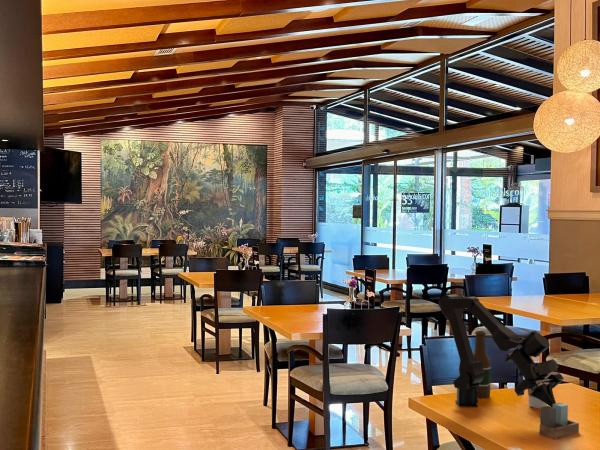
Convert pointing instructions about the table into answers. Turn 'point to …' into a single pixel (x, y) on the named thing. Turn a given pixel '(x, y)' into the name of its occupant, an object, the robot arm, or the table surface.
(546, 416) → the dark gray block
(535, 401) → the coffee cup
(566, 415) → the pale blue tall block
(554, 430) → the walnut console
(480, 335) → the beer bottle
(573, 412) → the table surface
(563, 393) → the table surface
